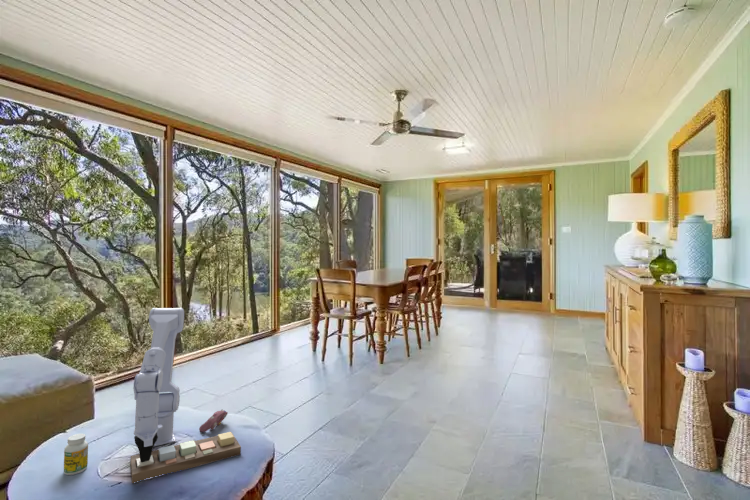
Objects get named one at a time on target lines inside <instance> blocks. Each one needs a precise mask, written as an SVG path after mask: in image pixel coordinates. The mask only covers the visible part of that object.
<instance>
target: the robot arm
mask: <svg viewBox="0 0 750 500" xmlns="http://www.w3.org/2000/svg"><path fill="white" fill-rule="evenodd" d="M148 314H149V315H148V324H149V326H150V329H151V330H152V331H153V332H152V338H151V344H150V348H149V349H148V350H146V351H145V353H144V356H143V359H142V363H141V367H140V370H139V373H136V375H135V377H134V380H133V388H132V389H133V393H134V400H135V420H134V421H135V422H134V430H133V434H134V438H133V439H134V443H135V445H136V448H137V449H138V454H139V455H140V461H141V462H145V461H149V460H150V457H151V453H152V451H153V449H154V448H155V447H159V446H162V445H167V444H171V443H175V442H176V437H175V435H174V417H175V416H174V414H175V413H176V412H177V411H178V410H179V406H180V401H181V400H180V397H181V396H180V392H181V391H180V387H179V386H178V385H176V384H175V383H173V382H172V379H173V368H174V357H175V345H176V338H177V335H178V334H179V333H181V332H183V329H184V323H185V309H184V308H183V307H173V308H172V307H152V309H150V310H149V313H148Z"/></svg>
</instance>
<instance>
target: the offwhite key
mask: <svg viewBox="0 0 750 500" xmlns="http://www.w3.org/2000/svg"><path fill="white" fill-rule="evenodd" d="M150 464H154V460H153V456H152V455H151V457H150V460H149V461H145V462H141V461H140V458H138V459H137V460H136V468H138V467H142V466H146V465H150Z"/></svg>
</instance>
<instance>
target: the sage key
mask: <svg viewBox="0 0 750 500" xmlns="http://www.w3.org/2000/svg"><path fill="white" fill-rule="evenodd" d="M194 441H195V440H194V439H193V440H189V441H185V442H181V443H179V445H180V446H179V453H180V456H185V455H189V454H193V453H196V444H195V442H194Z"/></svg>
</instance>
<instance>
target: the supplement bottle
mask: <svg viewBox="0 0 750 500" xmlns="http://www.w3.org/2000/svg"><path fill="white" fill-rule="evenodd" d="M63 453H64V454H63V456H64V457H63V473H64V475H67V476H73V475H74V476H75V475H78V474H80V473H83V472H84V471H85V470H87V468H88V464H89V463H88V462H89V461H88V458H89V457H88V456H89V454H88V453H89V442H88V441H86V434H85V433H76V434H72V435H71V436H69V437H67V445H66V446H65V447H64V451H63Z"/></svg>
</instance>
